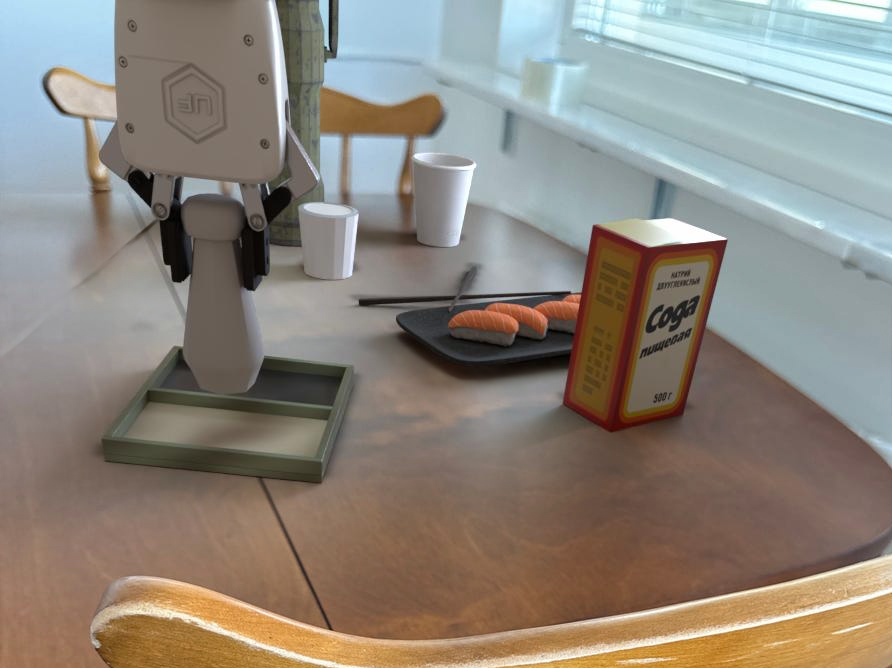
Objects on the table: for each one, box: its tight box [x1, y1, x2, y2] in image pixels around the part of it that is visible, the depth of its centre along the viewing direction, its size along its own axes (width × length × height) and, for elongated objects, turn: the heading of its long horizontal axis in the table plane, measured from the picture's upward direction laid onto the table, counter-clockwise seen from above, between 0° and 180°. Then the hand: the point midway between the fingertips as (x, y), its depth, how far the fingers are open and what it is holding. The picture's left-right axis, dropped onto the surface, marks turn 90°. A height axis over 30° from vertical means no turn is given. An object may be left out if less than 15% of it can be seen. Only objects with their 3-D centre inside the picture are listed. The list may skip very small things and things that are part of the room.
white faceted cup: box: [298, 201, 360, 281], centre depth 107 cm, size 7×7×7 cm
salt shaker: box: [181, 192, 266, 395], centre depth 66 cm, size 6×6×13 cm
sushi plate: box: [358, 266, 582, 367], centre depth 102 cm, size 29×30×4 cm
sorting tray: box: [100, 345, 355, 484], centre depth 76 cm, size 16×19×2 cm
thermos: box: [268, 0, 340, 247], centre depth 108 cm, size 9×12×35 cm
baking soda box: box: [562, 217, 729, 433], centre depth 81 cm, size 10×6×16 cm
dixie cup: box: [410, 151, 477, 248], centre depth 122 cm, size 8×8×10 cm
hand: (218, 278), depth 65 cm, fingers closed on salt shaker, 4 cm apart
